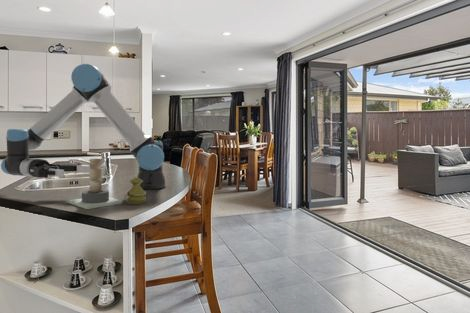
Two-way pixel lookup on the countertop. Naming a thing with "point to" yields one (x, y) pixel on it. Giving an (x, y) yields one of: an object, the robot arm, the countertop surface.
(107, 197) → the socket
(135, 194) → the olive twisted vase
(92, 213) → the countertop surface
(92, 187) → the peg
